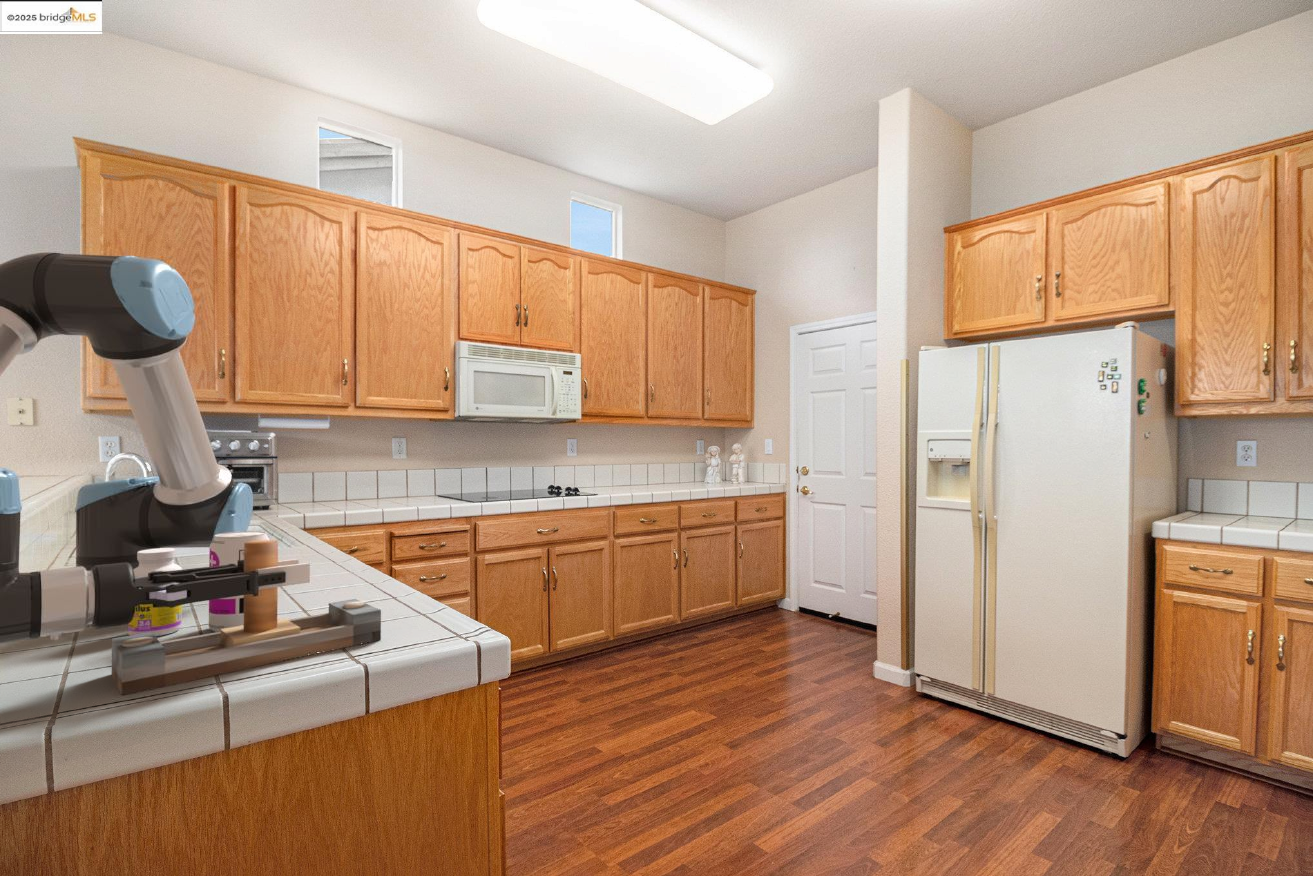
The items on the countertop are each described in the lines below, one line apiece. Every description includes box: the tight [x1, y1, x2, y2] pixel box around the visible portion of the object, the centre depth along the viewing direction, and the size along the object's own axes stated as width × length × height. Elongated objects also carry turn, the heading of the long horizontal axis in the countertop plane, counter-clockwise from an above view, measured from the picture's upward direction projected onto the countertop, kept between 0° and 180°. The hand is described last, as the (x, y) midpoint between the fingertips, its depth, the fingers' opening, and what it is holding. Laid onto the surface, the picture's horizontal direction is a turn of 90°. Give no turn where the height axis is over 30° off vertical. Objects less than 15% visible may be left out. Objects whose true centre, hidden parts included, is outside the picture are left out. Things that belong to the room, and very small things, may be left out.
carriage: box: [220, 539, 300, 648], centre depth 89 cm, size 7×8×14 cm
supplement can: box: [208, 530, 270, 633], centre depth 103 cm, size 8×8×15 cm
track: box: [111, 598, 382, 695], centre depth 89 cm, size 10×30×5 cm, turn 136°
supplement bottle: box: [127, 548, 183, 638], centre depth 100 cm, size 7×7×13 cm
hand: (302, 570), depth 93 cm, fingers closed on carriage, 4 cm apart
